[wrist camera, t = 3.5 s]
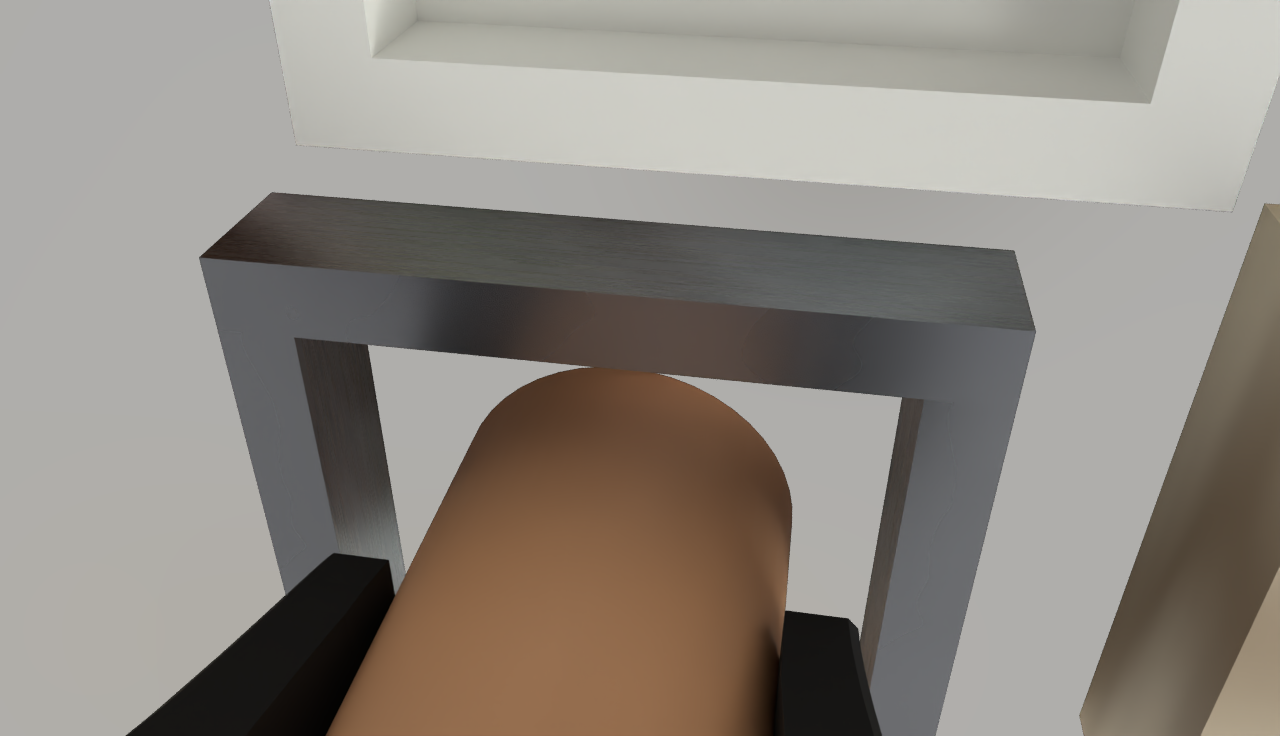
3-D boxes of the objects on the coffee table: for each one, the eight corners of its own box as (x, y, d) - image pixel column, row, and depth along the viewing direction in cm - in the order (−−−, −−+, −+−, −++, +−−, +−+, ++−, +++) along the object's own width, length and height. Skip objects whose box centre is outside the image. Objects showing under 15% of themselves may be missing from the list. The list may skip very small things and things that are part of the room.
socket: (902, 750, 14) (906, 852, 13) (371, 674, 15) (328, 761, 14) (1014, 250, 10) (1035, 331, 9) (271, 192, 11) (198, 257, 10)
